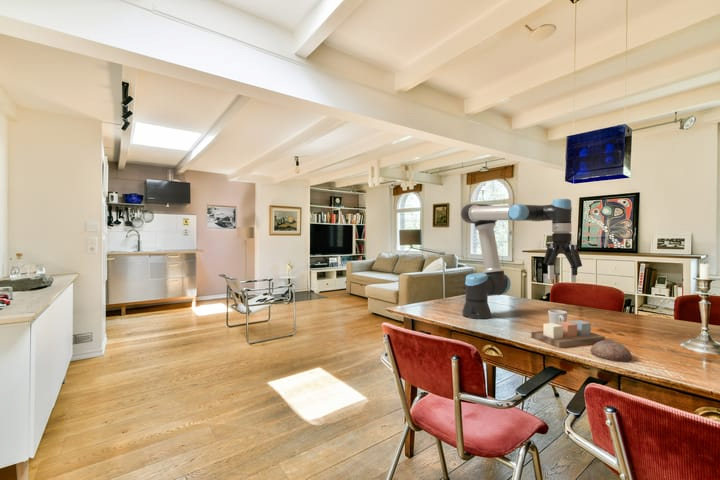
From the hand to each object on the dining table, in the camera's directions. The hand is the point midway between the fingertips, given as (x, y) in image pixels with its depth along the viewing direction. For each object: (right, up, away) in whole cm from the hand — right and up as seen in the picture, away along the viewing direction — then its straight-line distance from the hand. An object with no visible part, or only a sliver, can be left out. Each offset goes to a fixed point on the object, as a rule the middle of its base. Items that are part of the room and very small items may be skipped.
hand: (561, 280), depth 147 cm
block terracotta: (-4, -22, -10) cm, 25 cm away
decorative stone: (0, -25, -29) cm, 38 cm away
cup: (+3, -24, +6) cm, 25 cm away
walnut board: (-4, -24, -10) cm, 26 cm away
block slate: (+3, -22, -8) cm, 24 cm away
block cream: (-11, -22, -12) cm, 28 cm away
